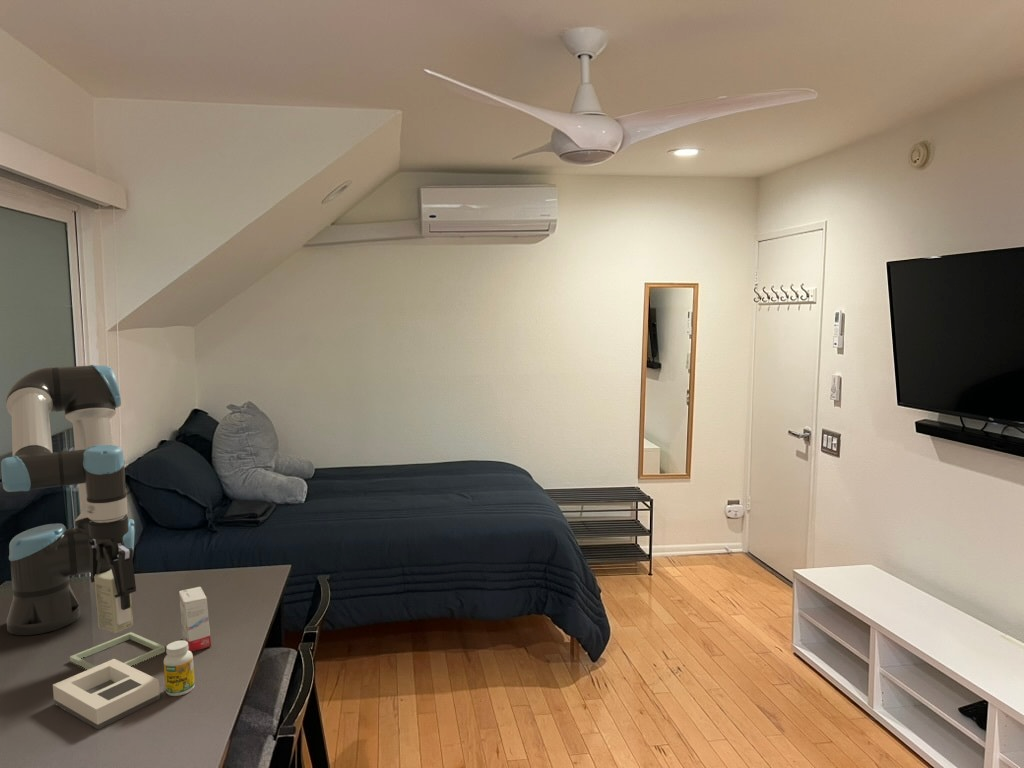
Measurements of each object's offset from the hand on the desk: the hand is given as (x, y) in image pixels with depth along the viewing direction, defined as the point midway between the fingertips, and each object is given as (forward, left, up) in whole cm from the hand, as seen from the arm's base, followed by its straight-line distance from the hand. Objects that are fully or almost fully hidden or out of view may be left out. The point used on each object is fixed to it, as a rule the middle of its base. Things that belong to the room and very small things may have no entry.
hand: (115, 617), depth 157 cm
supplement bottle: (+25, -1, -9) cm, 26 cm away
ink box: (+9, +13, -9) cm, 18 cm away
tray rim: (0, 0, -9) cm, 9 cm away
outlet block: (+16, -11, -9) cm, 22 cm away
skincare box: (0, 0, -2) cm, 2 cm away
